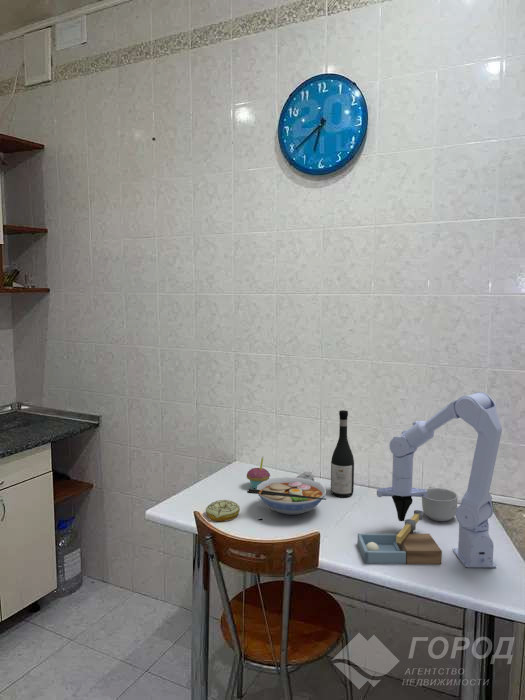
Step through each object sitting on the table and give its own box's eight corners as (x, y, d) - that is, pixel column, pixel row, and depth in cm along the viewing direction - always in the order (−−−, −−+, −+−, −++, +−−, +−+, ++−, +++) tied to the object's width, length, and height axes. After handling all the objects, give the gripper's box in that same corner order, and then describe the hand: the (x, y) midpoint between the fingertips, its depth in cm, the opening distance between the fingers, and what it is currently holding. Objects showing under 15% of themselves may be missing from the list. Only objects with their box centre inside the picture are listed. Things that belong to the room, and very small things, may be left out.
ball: (382, 556, 134) (378, 543, 133) (369, 560, 133) (365, 548, 133) (378, 549, 137) (374, 538, 137) (366, 553, 137) (362, 542, 137)
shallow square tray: (405, 563, 132) (406, 552, 131) (365, 563, 132) (365, 552, 131) (395, 544, 142) (395, 533, 142) (357, 543, 142) (357, 533, 142)
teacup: (459, 526, 154) (460, 501, 153) (422, 523, 156) (423, 498, 155) (452, 508, 168) (452, 484, 167) (418, 505, 170) (418, 482, 169)
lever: (403, 544, 133) (404, 537, 133) (392, 541, 135) (393, 534, 134) (424, 518, 150) (424, 511, 149) (414, 515, 151) (414, 509, 151)
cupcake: (274, 485, 187) (274, 454, 186) (261, 493, 180) (261, 460, 179) (254, 481, 192) (254, 450, 191) (241, 488, 185) (242, 456, 184)
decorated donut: (199, 515, 162) (199, 503, 162) (227, 506, 169) (227, 495, 168) (217, 526, 154) (217, 514, 153) (245, 516, 160) (245, 505, 160)
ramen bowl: (333, 501, 173) (334, 478, 172) (323, 530, 151) (324, 503, 150) (263, 494, 179) (263, 471, 179) (243, 520, 157) (243, 495, 157)
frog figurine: (311, 494, 179) (311, 475, 178) (292, 491, 182) (292, 472, 181) (316, 489, 184) (317, 470, 184) (298, 486, 187) (299, 467, 187)
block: (441, 563, 132) (441, 549, 131) (406, 563, 132) (407, 548, 131) (426, 541, 144) (426, 527, 144) (394, 541, 144) (394, 527, 144)
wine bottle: (351, 499, 175) (353, 414, 172) (328, 496, 177) (330, 412, 175) (354, 491, 182) (356, 409, 180) (332, 488, 185) (334, 407, 182)
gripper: (422, 471, 153) (421, 514, 154) (374, 470, 153) (373, 514, 154) (430, 479, 146) (428, 524, 147) (380, 478, 146) (378, 524, 147)
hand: (401, 519), depth 150 cm, fingers closed
